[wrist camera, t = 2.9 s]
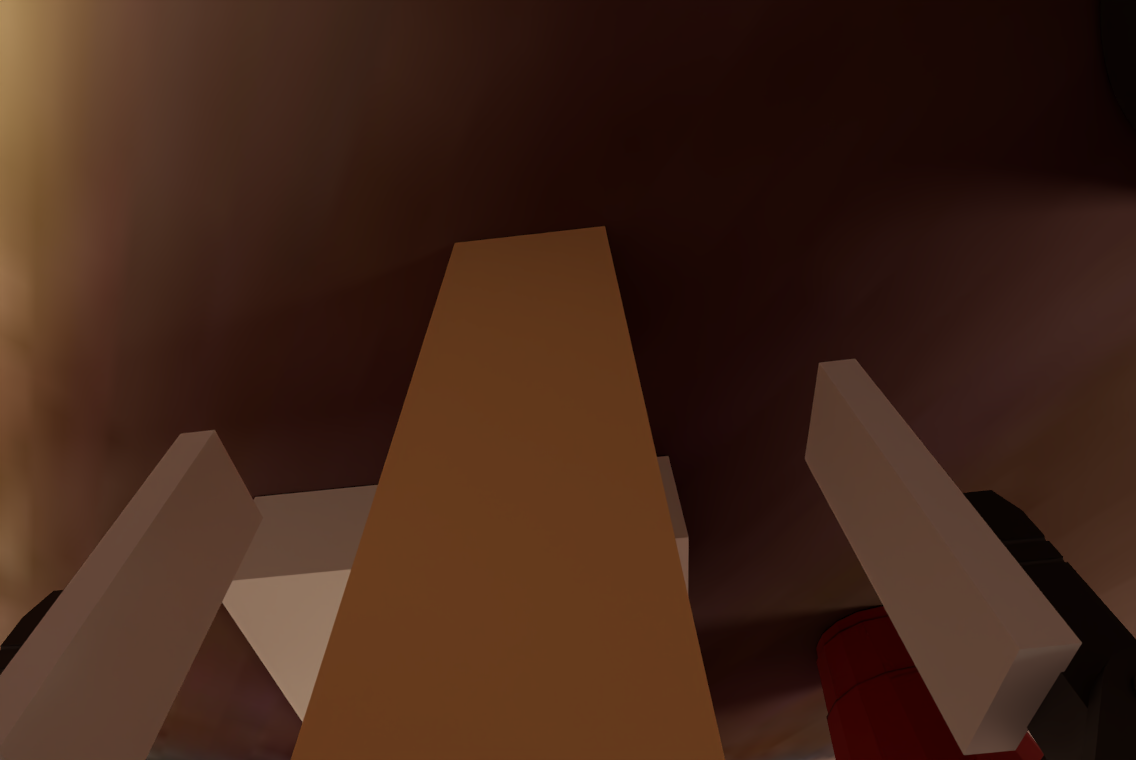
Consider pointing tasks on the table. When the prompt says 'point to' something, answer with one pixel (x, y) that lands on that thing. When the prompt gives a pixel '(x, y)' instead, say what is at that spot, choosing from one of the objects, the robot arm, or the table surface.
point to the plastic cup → (886, 698)
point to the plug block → (518, 539)
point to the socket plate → (323, 576)
